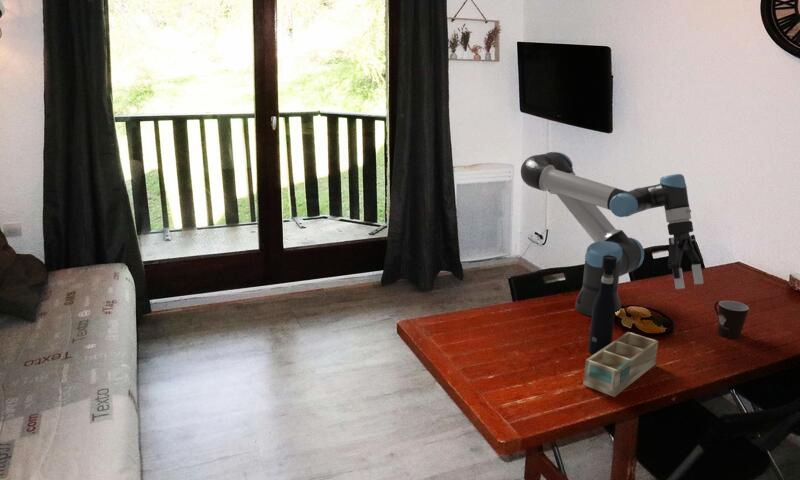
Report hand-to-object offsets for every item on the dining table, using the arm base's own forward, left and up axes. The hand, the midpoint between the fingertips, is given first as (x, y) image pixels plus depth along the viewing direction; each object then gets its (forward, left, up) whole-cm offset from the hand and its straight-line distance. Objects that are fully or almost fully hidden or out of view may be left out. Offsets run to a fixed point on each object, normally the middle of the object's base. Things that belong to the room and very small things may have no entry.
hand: (689, 286), depth 217 cm
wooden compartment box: (0, -47, -14) cm, 49 cm away
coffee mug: (+12, +5, -14) cm, 19 cm away
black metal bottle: (-11, -38, -14) cm, 42 cm away
